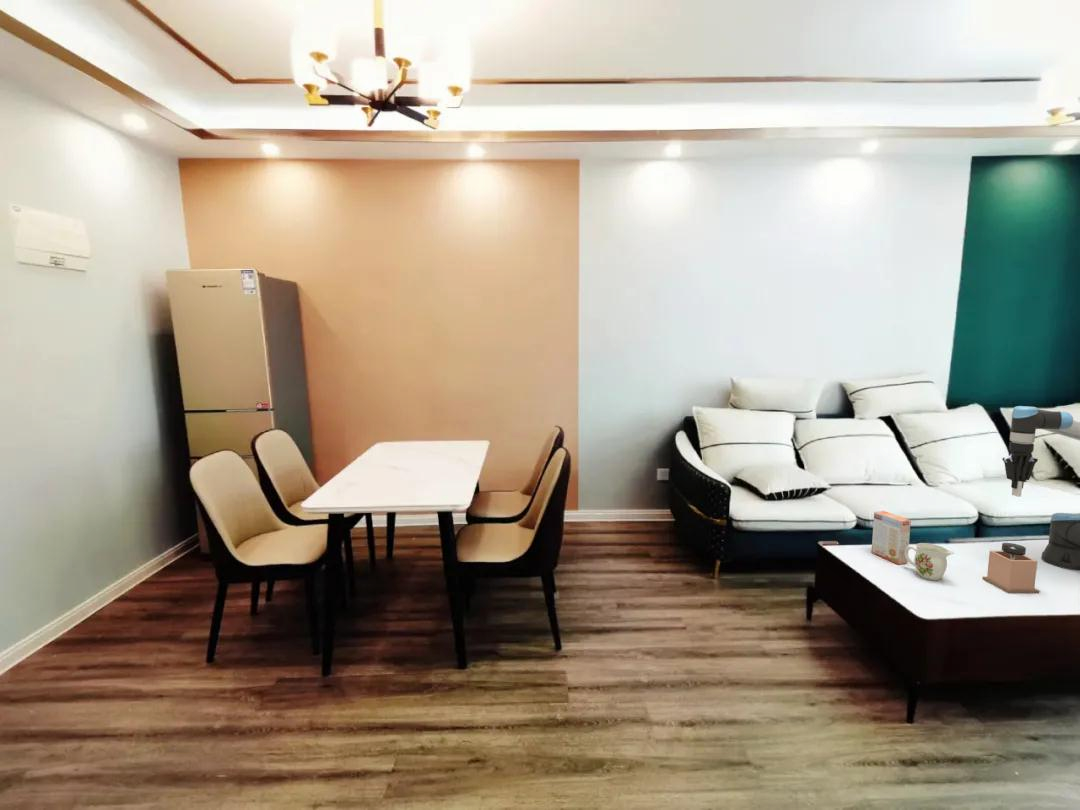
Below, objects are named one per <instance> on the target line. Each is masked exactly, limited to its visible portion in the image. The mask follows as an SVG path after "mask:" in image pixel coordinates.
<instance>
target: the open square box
mask: <svg viewBox="0 0 1080 810" xmlns="http://www.w3.org/2000/svg"><path fill="white" fill-rule="evenodd" d="M1010 556H1011V554H1010V553H1006V552H1004V551H1002V550H989V555H988V564H987V574H986V576H982V580H983V581H985V582H986V583H989V584H990V585H992V586H994V587H995V588H997V589H998V590H999V589H1000V590H1001V591H1003V592H1005V593H1007V594H1040V590H1039V589H1036V588H1035V586H1036V577H1037V569H1038V560H1036V559H1034V558H1031V557H1029V556H1027V555H1026V554H1025V555H1015V560H1010Z"/></svg>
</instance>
